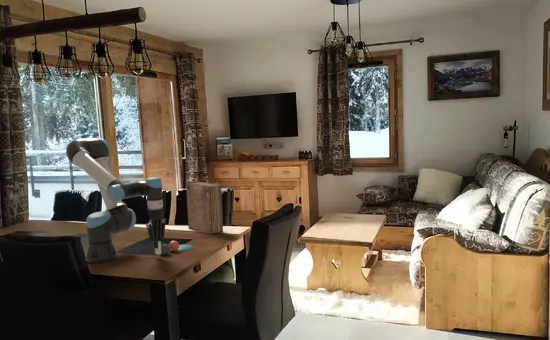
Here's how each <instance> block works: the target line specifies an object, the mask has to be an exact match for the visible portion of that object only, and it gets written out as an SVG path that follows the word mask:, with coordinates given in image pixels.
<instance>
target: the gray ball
mask: <svg viewBox="0 0 550 340" xmlns="http://www.w3.org/2000/svg"><path fill="white" fill-rule="evenodd" d="M170 252H171V251H170V246H169V244H167V243H163V244H161V254H160V255H164V256H166V255H168V254H169V253H170Z"/></svg>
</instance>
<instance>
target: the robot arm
mask: <svg viewBox="0 0 550 340" xmlns="http://www.w3.org/2000/svg"><path fill="white" fill-rule="evenodd" d="M65 150H66V152H65V154H66V157H67V159H68V161H69V162H70V164H72V165H73V166H74V167H79V168H80V169H81V170H83V171H84V172H85V174H87V175H88V176H90V178H92V180H94V181H95V182H96V183H97V186H98V190H99V192H100V194H101V198H102V200H103V202H104V203H103V204H104V206H105V210H102V211H96V212H93V213H91V214H89V215H88V216H87V217H86V219H85V220H86V222H85V223H86V225H85V227H86V235H87V248H86V251H85V256H86V260H87V263H91V264H92V263H94V264H98V263H104V262H109V261H113V260H115V259H116V258H118V253H117V249H116V248H115V246H114V243H113V236H114V235H118V234H121V233H126V232H128V231H130V230H132V229H134V227H135V226H136V225H135V224H136V222H137V217H136V216H137V215H136V213H135V212H134V210H133V209H131V208H128V205H127V204H126V203H125V202H123V201H122V200H125V199H130V198H136V197H146V200H147V214H148V215H147V216H148V217H149V220H148V223H146V224H145V227H146V230H147V229H148V235H149V236H148V237H149V241H150V242H153V247H154V254H155V255H159V256H160V255H162V254H161V245H162V242H163V239H165V233H166V232H165V231H166V224H167V222H168V221H167V219H166V218H164V217H163V216H164V213H165V212H164V208H163V207H164V204H163V203H164V201H163V200H164V199H163V184H162V183H163V182H162V178H161V177H157V176H156V177H155V176H154V177H152V176H151V177H147V178H146V179H145V180H131V181H129V182H125V183H123V182H121V180H119V179H118V178H117V177H115V175H113V173H112V171H111V169H110V166H109V163H108V161H109V159H110V155H111V147H110V145H109V143H108V141H106V139H104V138H101V137H91V138H90V137H88V138H86V137H85V138H76V139H73V140H72V141H70V142H69V143H68V145H67V146H66V149H65ZM85 256H84V257H85ZM86 260H85V261H86Z"/></svg>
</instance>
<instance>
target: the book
mask: <svg viewBox="0 0 550 340" xmlns="http://www.w3.org/2000/svg"><path fill="white" fill-rule="evenodd" d="M185 188H186V189H185V190H186V206H187V207H186V208H187V220H188V221H187V222H188V223H187V224H188V226H187V227H188V229H189V230H193V231H195V232H200V233H202V234H206V235H209V236H212V235H213V234H216V233H223V232H224V224H223V223H224V222H223V201H222V200H223V199H222V184H221V183H215V182H214V183H213V182H207V181H190V182H186V183H185Z"/></svg>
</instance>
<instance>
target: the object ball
mask: <svg viewBox="0 0 550 340" xmlns="http://www.w3.org/2000/svg"><path fill="white" fill-rule="evenodd" d="M168 245H169V246H170V250H171V251H170V252H174V251H176V250H178V248H179V245H180V244H179V242H178V241H177V240H171V241H170V242H169V244H168Z"/></svg>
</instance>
